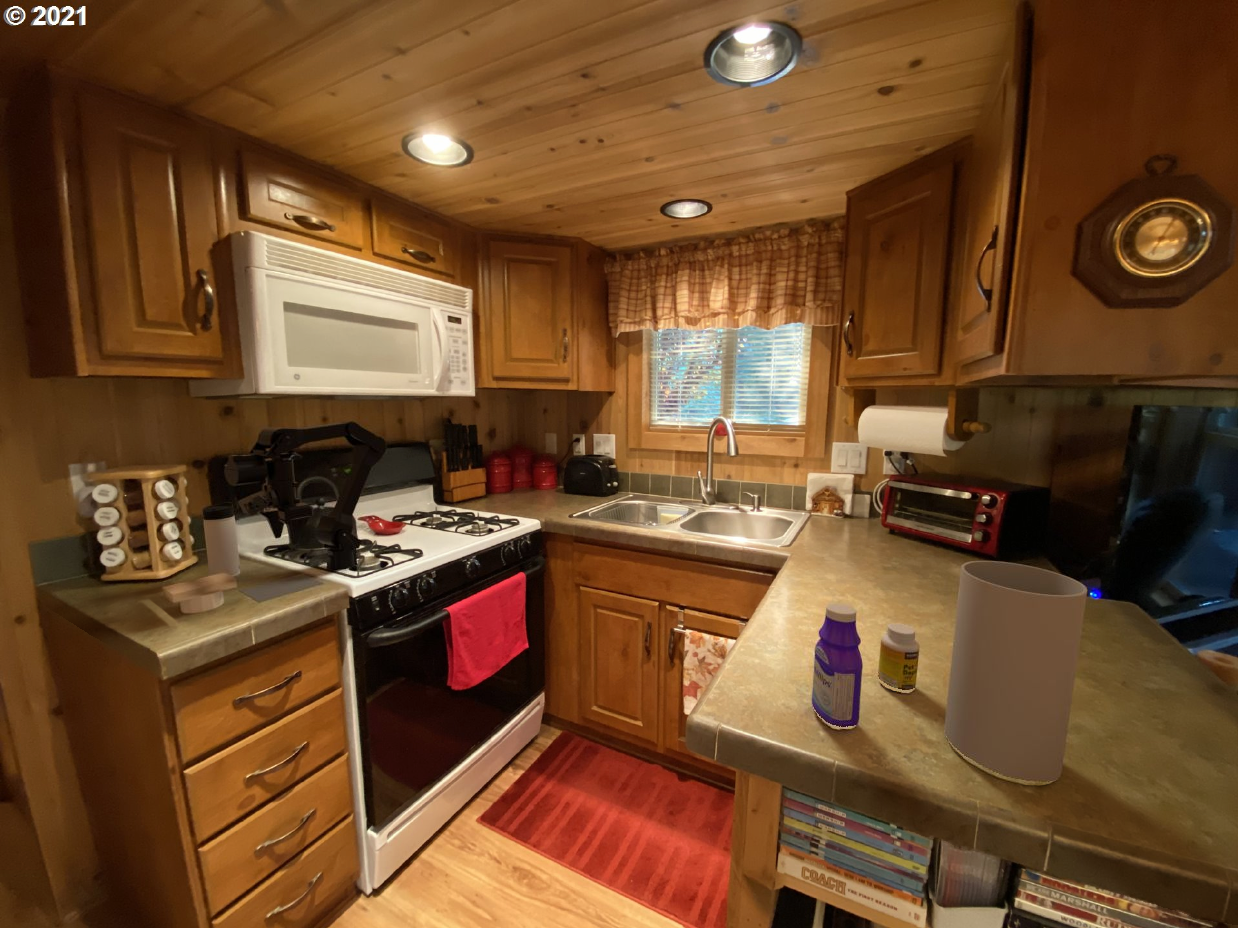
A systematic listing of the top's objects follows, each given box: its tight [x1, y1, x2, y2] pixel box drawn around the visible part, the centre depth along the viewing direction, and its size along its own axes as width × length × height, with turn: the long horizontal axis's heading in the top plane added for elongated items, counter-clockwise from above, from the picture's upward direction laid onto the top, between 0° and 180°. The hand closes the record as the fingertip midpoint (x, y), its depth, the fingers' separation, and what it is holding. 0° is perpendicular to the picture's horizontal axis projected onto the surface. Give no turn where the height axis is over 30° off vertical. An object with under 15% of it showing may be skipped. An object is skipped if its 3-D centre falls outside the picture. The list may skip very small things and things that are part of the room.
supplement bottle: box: [877, 622, 921, 690], centre depth 81 cm, size 6×6×10 cm
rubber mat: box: [239, 573, 325, 604], centre depth 119 cm, size 14×12×1 cm
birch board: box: [162, 572, 238, 604], centre depth 108 cm, size 11×7×2 cm, turn 146°
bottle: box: [811, 602, 864, 727], centre depth 72 cm, size 7×6×17 cm
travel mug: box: [202, 501, 241, 578], centre depth 126 cm, size 6×7×20 cm
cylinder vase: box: [943, 560, 1088, 782], centre depth 64 cm, size 12×12×25 cm
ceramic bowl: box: [179, 590, 224, 614], centre depth 108 cm, size 7×7×4 cm
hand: (285, 541), depth 120 cm, fingers open, 9 cm apart
